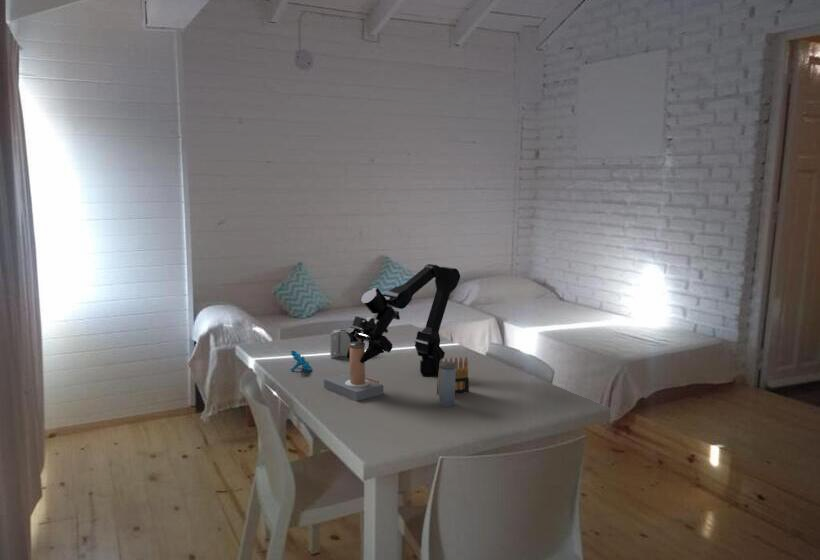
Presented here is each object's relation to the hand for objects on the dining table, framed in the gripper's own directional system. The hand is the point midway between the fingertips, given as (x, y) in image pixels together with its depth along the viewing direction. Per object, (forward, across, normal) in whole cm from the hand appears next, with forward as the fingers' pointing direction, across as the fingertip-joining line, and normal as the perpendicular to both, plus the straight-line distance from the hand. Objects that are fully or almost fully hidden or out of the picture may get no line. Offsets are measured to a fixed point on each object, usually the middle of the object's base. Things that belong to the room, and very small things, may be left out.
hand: (354, 360), depth 215 cm
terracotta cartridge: (+4, 0, +6) cm, 8 cm away
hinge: (-10, -40, +26) cm, 49 cm away
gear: (+7, -33, +9) cm, 35 cm away
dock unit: (+7, -2, +9) cm, 12 cm away
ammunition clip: (-10, +20, +26) cm, 34 cm away
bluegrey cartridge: (-3, +27, +19) cm, 33 cm away
